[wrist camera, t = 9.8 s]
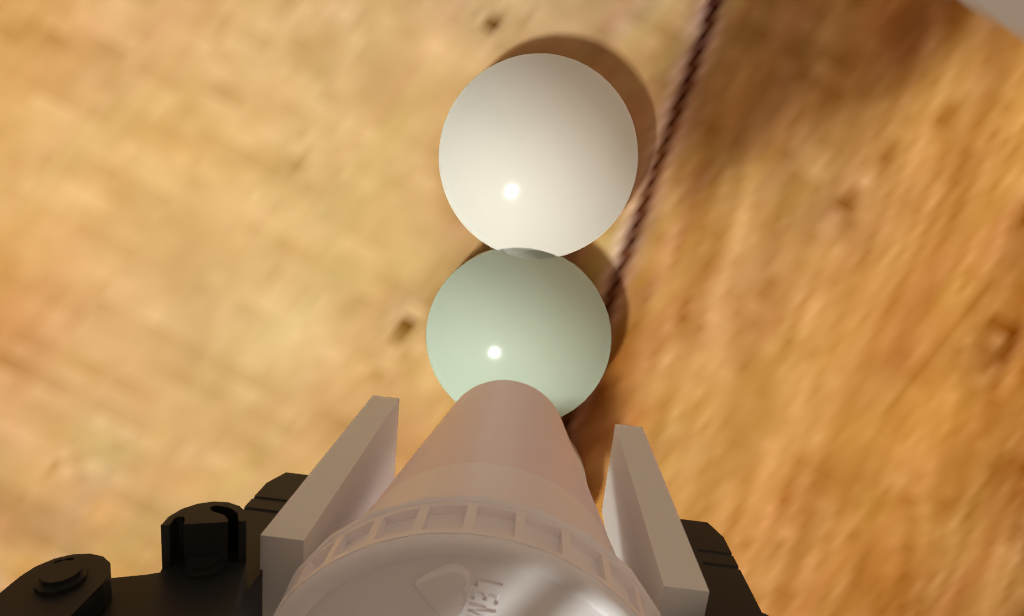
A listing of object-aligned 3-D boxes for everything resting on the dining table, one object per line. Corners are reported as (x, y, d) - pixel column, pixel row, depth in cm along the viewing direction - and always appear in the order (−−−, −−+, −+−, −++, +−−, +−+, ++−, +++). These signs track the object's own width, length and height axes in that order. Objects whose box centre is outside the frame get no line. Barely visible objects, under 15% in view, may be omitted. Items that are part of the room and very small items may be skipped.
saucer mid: (437, 235, 28) (432, 237, 27) (620, 255, 27) (624, 258, 26) (425, 406, 30) (420, 415, 29) (595, 426, 29) (597, 436, 28)
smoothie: (477, 294, 17) (172, 815, 3) (652, 416, 17) (1092, 1346, 3) (363, 456, 18) (-218, 1338, 4) (528, 564, 18) (489, 1665, 5)
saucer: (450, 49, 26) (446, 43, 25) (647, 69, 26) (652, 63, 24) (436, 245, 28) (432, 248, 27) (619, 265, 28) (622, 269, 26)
